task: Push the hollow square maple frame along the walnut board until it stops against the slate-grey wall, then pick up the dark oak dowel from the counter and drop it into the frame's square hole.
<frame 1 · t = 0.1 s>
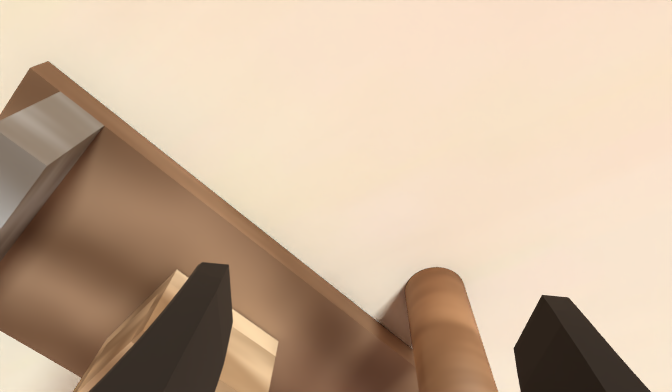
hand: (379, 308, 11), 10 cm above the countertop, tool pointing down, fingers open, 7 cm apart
hollow square maple frame: (179, 370, 23), point 3 cm above the countertop, slide at 6.0 cm
dowel: (434, 291, 24), on the countertop
backstop board: (187, 314, 25), on the countertop
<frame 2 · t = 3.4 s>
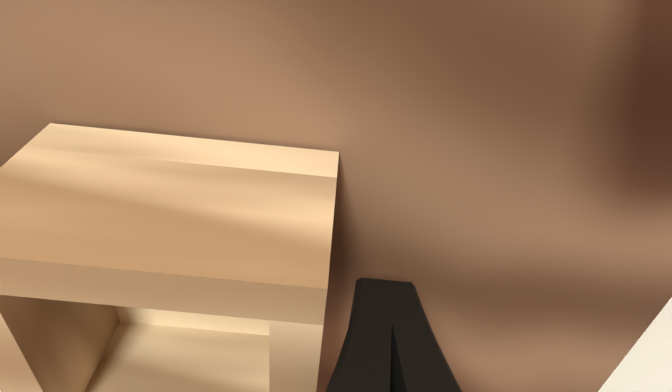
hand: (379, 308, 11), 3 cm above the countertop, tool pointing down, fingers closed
hollow square maple frame: (183, 303, 11), point 3 cm above the countertop, slide at 4.6 cm, touching gripper
backstop board: (241, 214, 13), on the countertop
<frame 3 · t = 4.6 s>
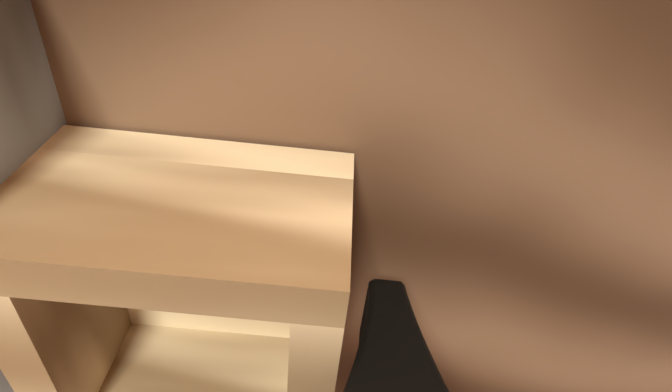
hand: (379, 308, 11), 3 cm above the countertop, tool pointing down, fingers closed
hollow square maple frame: (197, 305, 11), point 3 cm above the countertop, slide at -0.3 cm, touching backstop board, gripper
backstop board: (422, 232, 13), on the countertop
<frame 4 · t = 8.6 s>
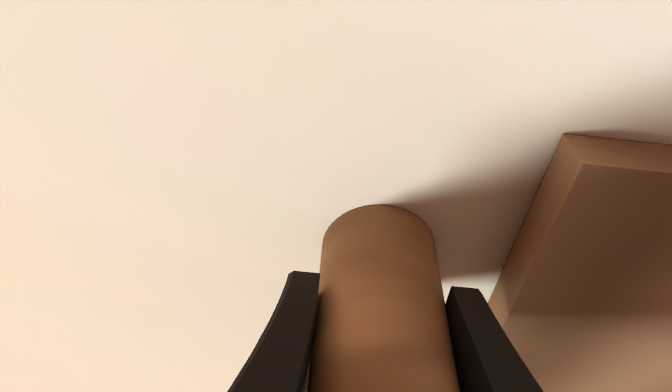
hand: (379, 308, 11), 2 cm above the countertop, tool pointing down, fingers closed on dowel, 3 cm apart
dowel: (377, 248, 13), on the countertop, touching gripper
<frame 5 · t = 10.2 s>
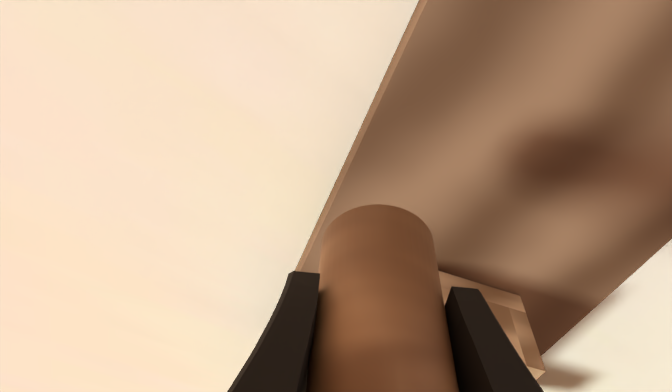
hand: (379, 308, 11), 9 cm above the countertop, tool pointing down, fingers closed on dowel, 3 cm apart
hollow square maple frame: (433, 352, 22), point 3 cm above the countertop, slide at -0.3 cm
dowel: (377, 248, 13), point 7 cm above the countertop, touching gripper
backstop board: (480, 224, 21), on the countertop
when the fingers open (6 cm above the countertop, at t = 12.0 s): dowel drops 2 cm, resting on hollow square maple frame.
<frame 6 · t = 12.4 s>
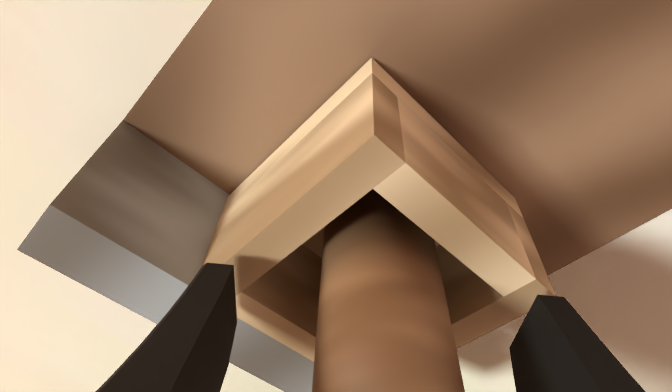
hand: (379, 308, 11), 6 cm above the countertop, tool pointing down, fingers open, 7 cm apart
hollow square maple frame: (369, 239, 13), point 3 cm above the countertop, slide at -0.3 cm, touching dowel
dowel: (376, 212, 14), point 2 cm above the countertop, touching hollow square maple frame
backstop board: (507, 61, 13), on the countertop
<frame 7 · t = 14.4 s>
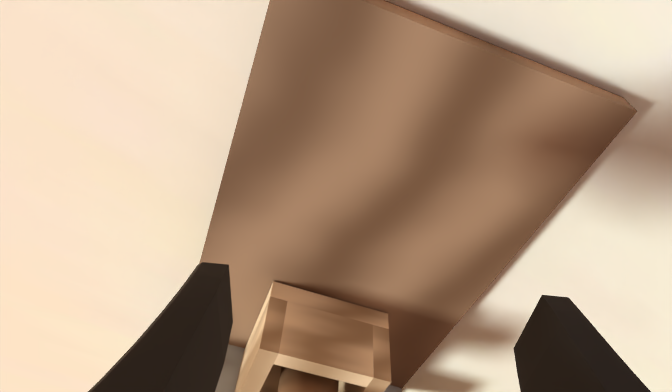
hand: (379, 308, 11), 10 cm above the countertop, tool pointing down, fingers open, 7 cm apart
hollow square maple frame: (309, 364, 25), point 3 cm above the countertop, slide at -0.3 cm, touching dowel
dowel: (312, 345, 25), point 2 cm above the countertop, touching hollow square maple frame
backstop board: (348, 251, 24), on the countertop
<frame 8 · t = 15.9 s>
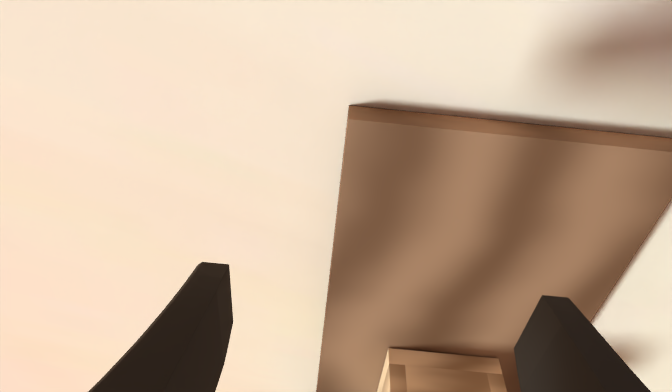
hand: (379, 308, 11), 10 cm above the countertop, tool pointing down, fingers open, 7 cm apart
backstop board: (449, 309, 27), on the countertop
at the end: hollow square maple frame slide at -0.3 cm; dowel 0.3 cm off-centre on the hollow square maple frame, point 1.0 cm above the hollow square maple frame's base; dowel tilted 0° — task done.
